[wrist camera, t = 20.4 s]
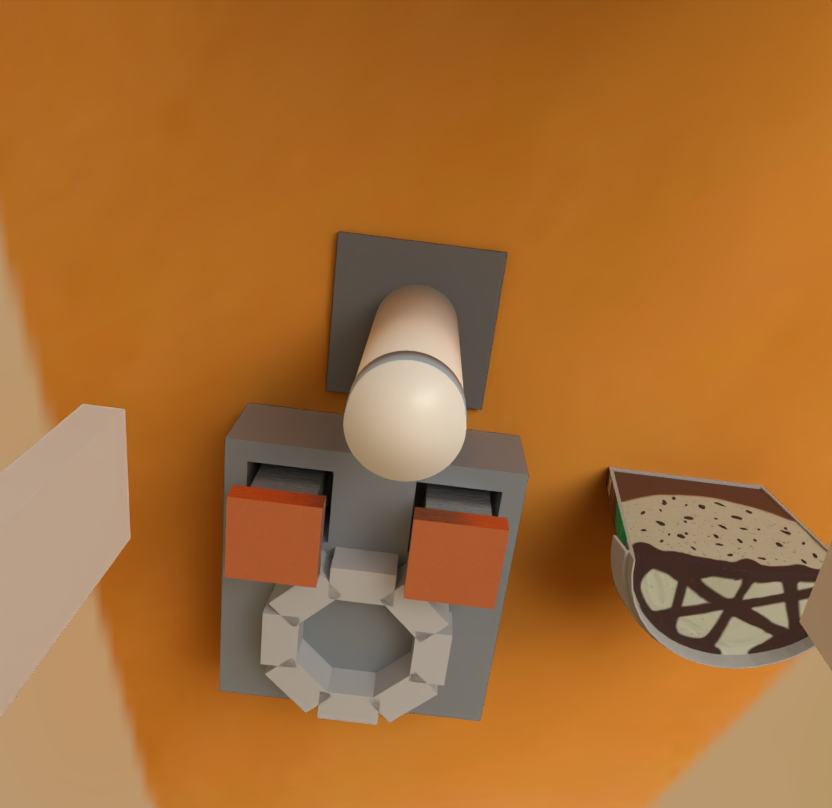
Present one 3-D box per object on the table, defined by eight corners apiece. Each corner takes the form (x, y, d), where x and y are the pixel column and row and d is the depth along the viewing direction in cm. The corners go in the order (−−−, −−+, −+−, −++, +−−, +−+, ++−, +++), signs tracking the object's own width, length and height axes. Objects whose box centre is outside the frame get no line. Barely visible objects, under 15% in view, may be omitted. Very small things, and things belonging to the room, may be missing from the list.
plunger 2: (418, 457, 41) (413, 519, 35) (499, 467, 41) (509, 530, 35) (409, 528, 43) (403, 598, 37) (486, 537, 43) (494, 609, 37)
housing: (248, 402, 43) (214, 454, 36) (519, 435, 43) (533, 493, 37) (240, 636, 49) (209, 715, 43) (476, 664, 49) (481, 747, 43)
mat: (339, 231, 39) (338, 232, 39) (506, 252, 39) (507, 253, 39) (326, 388, 42) (326, 390, 42) (481, 407, 42) (481, 409, 42)
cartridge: (377, 278, 39) (347, 359, 26) (464, 288, 39) (476, 375, 26) (369, 360, 41) (337, 475, 28) (452, 370, 41) (458, 489, 28)
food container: (563, 551, 46) (595, 662, 37) (583, 463, 44) (622, 558, 34) (757, 574, 46) (837, 691, 37) (787, 488, 44) (881, 590, 34)
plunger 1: (259, 438, 41) (226, 496, 35) (340, 448, 41) (322, 508, 35) (256, 509, 43) (224, 577, 37) (334, 519, 43) (316, 588, 37)
